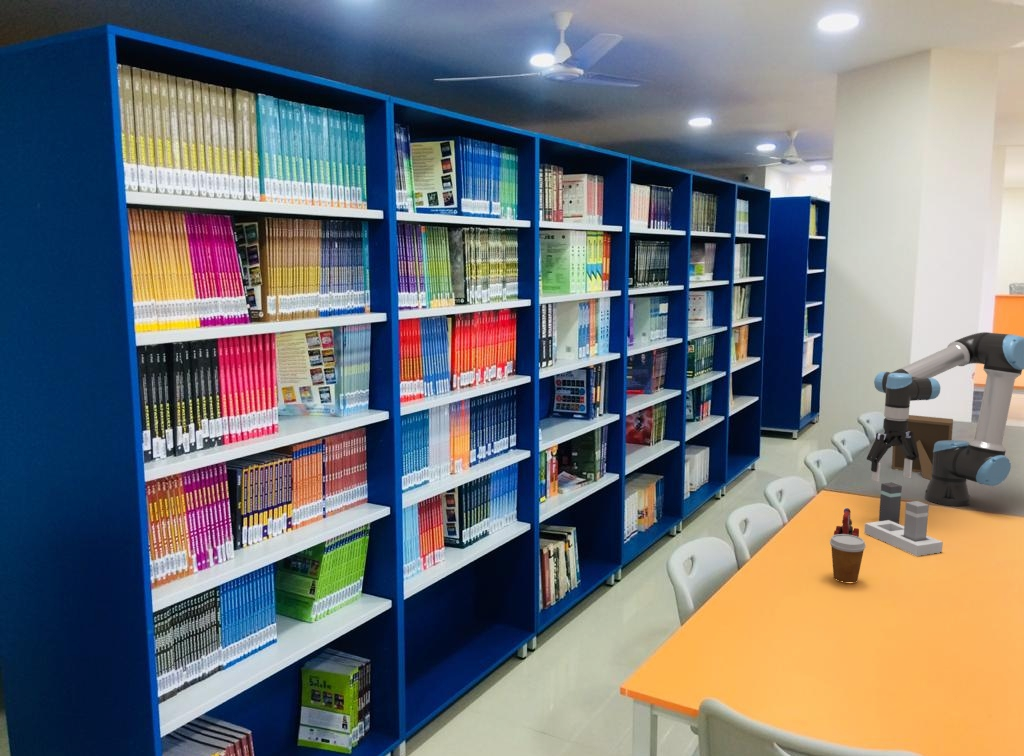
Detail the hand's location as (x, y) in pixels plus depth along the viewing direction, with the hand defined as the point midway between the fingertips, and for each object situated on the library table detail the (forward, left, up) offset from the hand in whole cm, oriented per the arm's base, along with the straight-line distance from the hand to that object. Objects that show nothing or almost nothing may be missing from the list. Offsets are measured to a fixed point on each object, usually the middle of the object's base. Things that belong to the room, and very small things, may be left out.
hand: (891, 479), depth 270 cm
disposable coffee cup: (+48, +34, -16) cm, 61 cm away
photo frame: (-60, -46, -16) cm, 77 cm away
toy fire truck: (+26, +9, -16) cm, 32 cm away
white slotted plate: (+10, +16, -16) cm, 25 cm away
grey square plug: (+10, +21, -16) cm, 28 cm away
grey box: (0, 0, -16) cm, 16 cm away
